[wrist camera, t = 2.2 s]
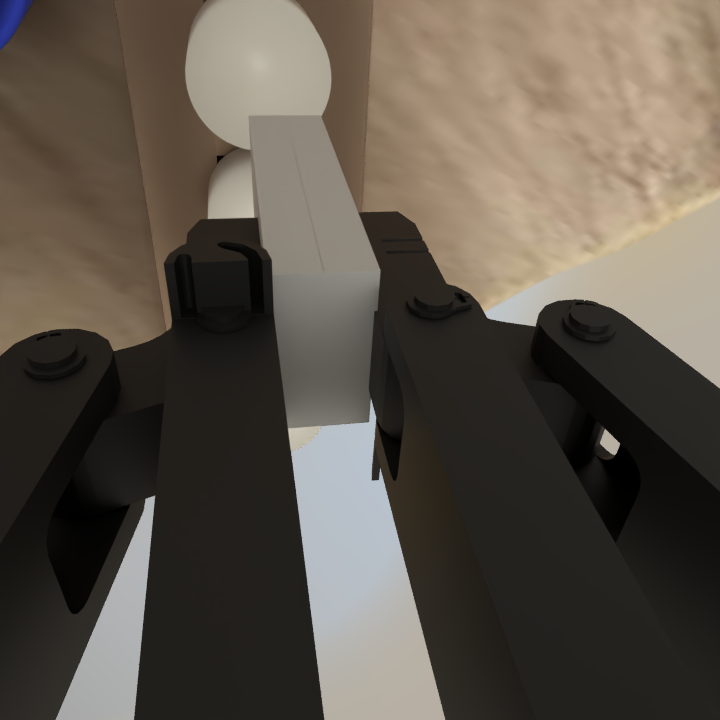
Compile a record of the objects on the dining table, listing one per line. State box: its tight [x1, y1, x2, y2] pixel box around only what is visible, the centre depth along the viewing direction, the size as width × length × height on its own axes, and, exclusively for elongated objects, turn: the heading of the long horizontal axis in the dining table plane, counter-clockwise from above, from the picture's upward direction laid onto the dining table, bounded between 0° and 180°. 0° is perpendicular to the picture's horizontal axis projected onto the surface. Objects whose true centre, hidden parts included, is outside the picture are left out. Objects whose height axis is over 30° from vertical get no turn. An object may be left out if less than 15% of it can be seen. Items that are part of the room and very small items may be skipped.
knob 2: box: [185, 0, 331, 150], centre depth 23 cm, size 4×4×9 cm
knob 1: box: [208, 148, 254, 219], centre depth 31 cm, size 4×4×9 cm
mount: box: [114, 0, 373, 331], centre depth 33 cm, size 10×24×6 cm, turn 177°
